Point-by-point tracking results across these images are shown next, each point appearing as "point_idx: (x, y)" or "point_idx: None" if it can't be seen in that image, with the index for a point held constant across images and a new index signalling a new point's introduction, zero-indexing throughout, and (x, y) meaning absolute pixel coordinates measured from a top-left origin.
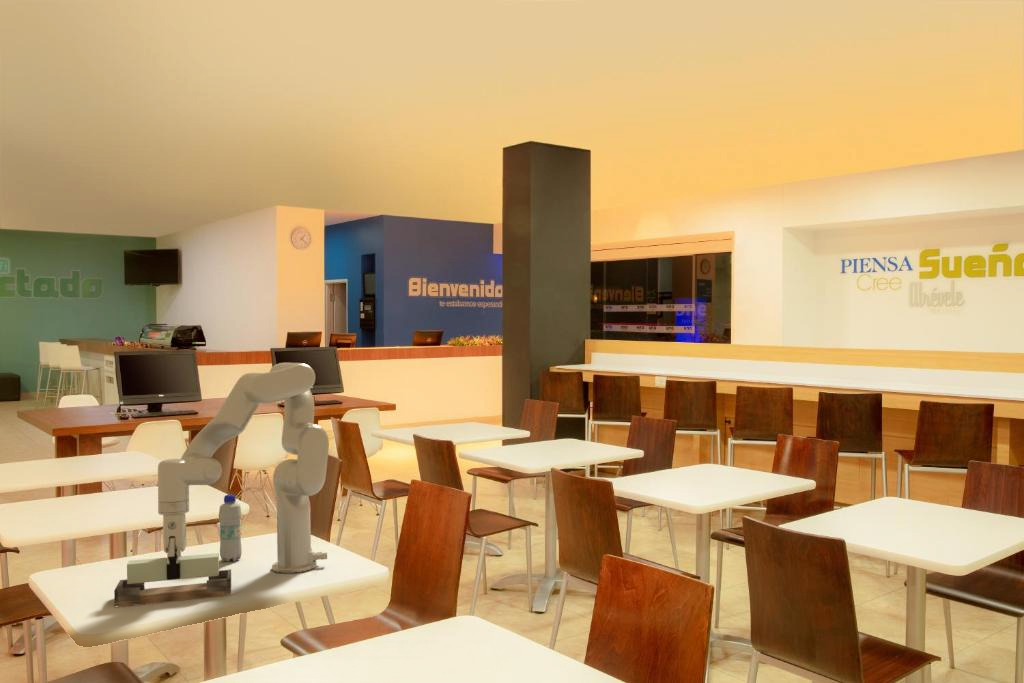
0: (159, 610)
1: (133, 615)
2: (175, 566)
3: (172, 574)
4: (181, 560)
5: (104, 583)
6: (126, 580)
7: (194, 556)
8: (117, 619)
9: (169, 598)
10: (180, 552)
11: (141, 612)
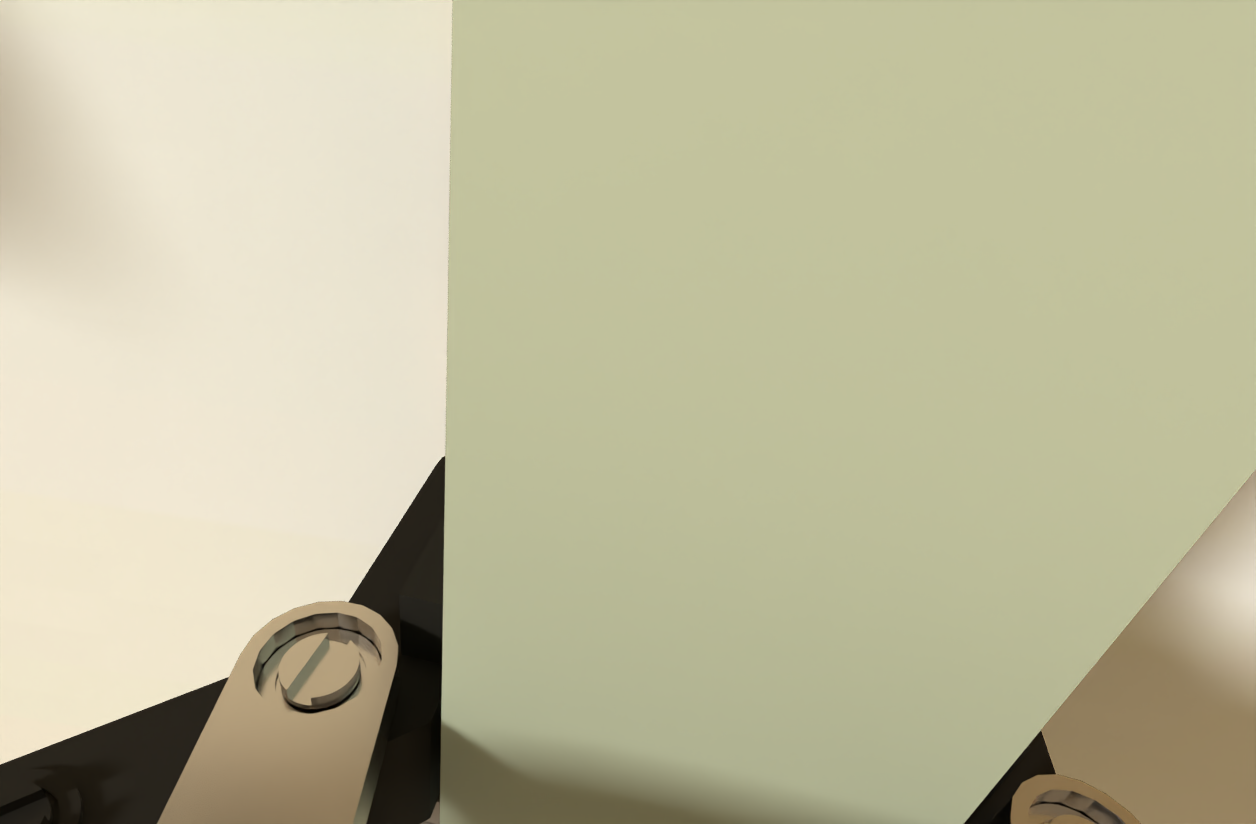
0: (1234, 557)
1: (1167, 731)
2: (1040, 772)
3: None
4: (986, 769)
5: (84, 698)
6: (439, 804)
7: (742, 341)
8: (1165, 813)
9: None
10: (335, 810)
11: (1131, 676)
